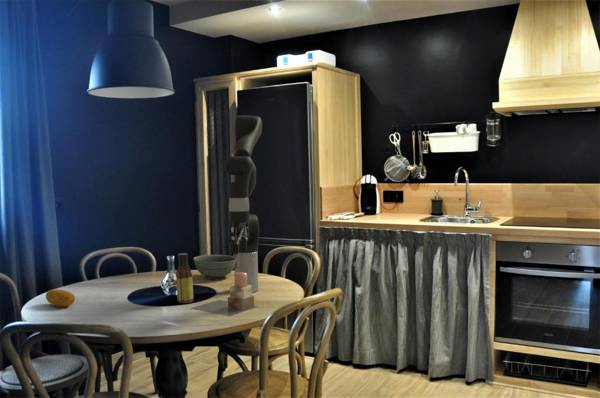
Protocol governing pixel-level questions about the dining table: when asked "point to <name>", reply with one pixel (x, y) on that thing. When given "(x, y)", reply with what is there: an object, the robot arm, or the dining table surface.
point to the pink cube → (240, 279)
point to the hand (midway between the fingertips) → (239, 252)
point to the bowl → (215, 265)
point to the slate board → (219, 308)
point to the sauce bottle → (184, 280)
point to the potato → (60, 297)
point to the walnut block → (241, 303)
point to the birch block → (241, 292)
